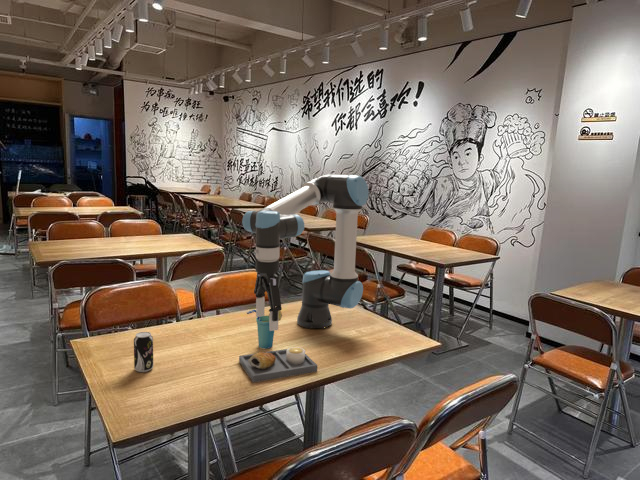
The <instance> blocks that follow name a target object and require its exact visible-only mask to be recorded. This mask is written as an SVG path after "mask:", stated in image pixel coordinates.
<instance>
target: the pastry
mask: <svg viewBox="0 0 640 480" xmlns="http://www.w3.org/2000/svg"><path fill="white" fill-rule="evenodd" d="M252 354H253V356H252V357H251V358H250V359H249V363H250V365H251V366H254V367H257V368H259V369H266V368H267V367H268V368H269V367H270V366H271V365H273V364H274V363H275V360H276V357H275V356H274V355H273V354H271V353H262V352H260V351H259V352H257V354H256V353H252Z"/></svg>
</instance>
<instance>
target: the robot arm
mask: <svg viewBox="0 0 640 480" xmlns="http://www.w3.org/2000/svg"><path fill="white" fill-rule="evenodd" d="M368 199H369V186H368V183H367V182H366V179H365V178H364V177H363V176H361V175H355V174H338V173H337V174H336V173H335V174H333V173H327V174H326V173H325V174H324V175H320V176H317V177H315V178H313V179H309V180H308V181H307V182H305V183H303V184H302V185H301V187H300V188H299V189H297V190H294V191H293V192H291V193H289V194H288V195H285V196H283V197H282V198H280V199H279V200H276V201H275V202H273V203H270V204H268V205H267V206H265V207H264V208H262V209H259V210H257V211H256V210H248V211H246V212H245V213H244V215H242V221H241V223H242V227H243V228H244V231H246V232H249V233H253V234H255V249H254V254H255V259H256V260H255V271H256V279H255V284H254V291H253V293H254V295H255V299H256V300H255V305H256V306H255V310H256V312H255V317H256V318H257V317H260V316H265V309H266V308H265V307H266V306H265V303H266V301H265V300H266V299H265V297H266V294H267V298H268V303H269V309H268V312H269V313H270V316H269V315H268V316H269V330H270V331H273V330H274V331H279V321H278V315H279V310H280V311H282V309H283V308H282V301H281V295H280V288H279V278H275V274H276V273H278V272H280V261H279V259H280V255H281V254H280V253H281V252H280V247H281V246H280V240H282V239H288V238H295V237H297V236H301V234H302V233H304V230H305V221H304V219H303V217H302V216H300V215H299V214H297V213H299V212H300V211H302V210H304V209H306V208H308V207H309V206H315V205H317V204H319V203H330V204H331V203H332V209H333V211H335V215H336V216H335V217H336V219H335V235H334V237H335V238H334V255H333V256H334V260H333V270H332V272H330V271H329V270H322V269H321V270H320V269H319V270H311V271H306V272H305V273H303V276H302V282H301V284H302V287H301V288H302V290H301V307H300V310H299V313H298V315H297V318H296V319H297V321H296V323H298V324H299V325H298V324H297V325H298V326H300V327H302V326H303V327H302V328H305V327H306V328H305V329H310V328H323V329H325V328H324V327H327V326H329V325H331V324H332V323H333V318H332V315H331V311H330V307H329V305H331V306H332V305H333V306H336V307H339V308H343V309H350V310H351V309H353V308H356V306H357V305H359V303H360V301H361V300H362V297H363V294H364V293H363V292H364V285H363V283H362V282H361V281H360V280H359V275H358V273H357V272H356V257H357V256H356V254H357V252H356V251H357V235H358V234H357V233H358V217H359V215H358V214H359V213H360V212H361V211H362V209H363V207H364V206H365V205H366V204H367V202H368ZM331 326H332V325H331ZM329 327H330V326H329ZM327 328H328V327H327Z"/></svg>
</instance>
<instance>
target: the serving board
mask: <svg viewBox="0 0 640 480" xmlns="http://www.w3.org/2000/svg"><path fill="white" fill-rule="evenodd" d="M257 353H258V352H257ZM257 353H255V354H257ZM262 353H271V354H273V355H274V356H275V357H276V360H275V363H274V364H273V365H271V366H270V367H269V368H268V367H267V368H266V369H259V368H257V367H254V366H251V365H250V363H249V359H250V358H251V357H252V356H253V354H254V353H250V354H244V355H239V358H238V359H239V360H238V363H239V364H240V365H241V367H242V368H243V370H244V371H245V374H247V376H248V378H249V379H250V380H251V382H252V383H259V382H265V381H272V380H276V379H283V378H286V377H287V378H288V377H293V376H299V375H304V374H311V373H315V372H316V373H317V372H318V364H317V363H316V362H315V361H314V360H313V359H311V358H310V356H308V355H307V354H306V350H305V349H304V348H303V347H299V346H292V347H288V348H284V349H283V348H282V349H277V350H271V351H264V352H262Z"/></svg>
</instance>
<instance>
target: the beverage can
mask: <svg viewBox="0 0 640 480" xmlns="http://www.w3.org/2000/svg"><path fill="white" fill-rule="evenodd" d="M133 365H134V367H133V368H134V370H135V371H136V372H137V373H146V372H149V371H150V370H152V369H153V368H154V338H153V336H152V333H151V332H150V331H140V332H137V333H136V334H135V337H134V338H133Z"/></svg>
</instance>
